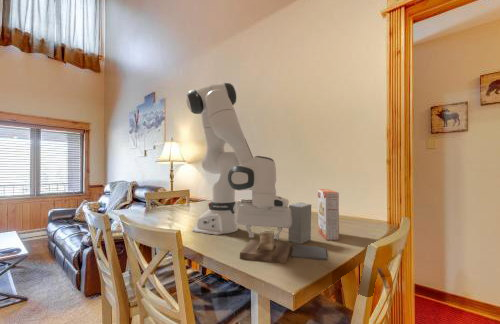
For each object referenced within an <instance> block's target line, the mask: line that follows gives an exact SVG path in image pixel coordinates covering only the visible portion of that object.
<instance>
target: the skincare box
mask: <svg viewBox="0 0 500 324" xmlns="http://www.w3.org/2000/svg"><path fill="white" fill-rule="evenodd" d="M288 207H289V208H290V210H291V215H292V226H291V227H290V228H288V237H287V238H288V242H290V243H291V242H292V243H294V244H297V245H302V244H304V243H307V242H308V241H310V240H312V239H311V237H312V204H311V203H306V202H305V203H304V202H295V203H292V204H288Z"/></svg>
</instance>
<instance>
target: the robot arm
mask: <svg viewBox="0 0 500 324" xmlns="http://www.w3.org/2000/svg"><path fill="white" fill-rule="evenodd" d="M185 99H186V106H187V108H188V109H189V110H190V112H191V113H192V114H195V115H201V122H202V126H203V127H202V128H203V129H204V130H203V131H204V134H205V135H204V136H205V140H206V152H205V154H204V156H203V157H202V161H201V167H202V168H203V170H204V171H205V172H207V173H210V174H214V175H216V174H217V175H220V176H219V178H218V181H217V182H216V183H214V184H212V185H213V186H212V201H211V202H209V203H208V204H207V207H208V209H206V211H205V212H204V213H202V214H200V216H199V217H198V219H197V222H196V225H195V226H193V227H192V229H191V231H192V232H195V233H202V234H209V235H210V234H211V235H214V236H215V235H218V236H220V235H223V234H231V233H235V232H237V231H238V230H239V229H238V225H241V226H245V229H246V231H247V233H248V238H251V239H253V238H255V232H254V231H252V230H251V228H252V226H253V227H268V228H277V231H278V232H277V233H274V241H279V240H280V234H281V232H282V231H283V229H289V228H290V227H291V226H292V215H291V210H290V208H289V205H290V204H289V201H290V200H288V198H285V197H281V196H279V195H277V188H276V182H277V168H276V167H277V166H276V162H275V160H274V159H273V158H271V157H268V156H262V155H261V156H260V155H256V156H253V154H252V151H251V149H250V146H249V144H248V141H247V139H246V137H245V135H244V133H243V130H242V128H241V125H240V121H239V119H238V116H237V113H236V110H235V108H234V105H236V102H237V91H236V89H235V86H234V85H233V84H232V83H229V82H223V83H216V84H209V85H206V86H202V87H199V88H196V89H195V88H194V89H193V88H192V89H191V90H189V91H188V92H187V93H186V98H185ZM226 144H228V146H230V147H231V148H232V150H233V151H225V145H226ZM235 191H251V199H240V200H239V201H238V202H237V203H236V201H235V198H236V197H235V196H236V194H235V193H236V192H235ZM236 210H237V212H236ZM236 213H237V214H236ZM237 224H238V225H237Z"/></svg>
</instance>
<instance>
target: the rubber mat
mask: <svg viewBox="0 0 500 324" xmlns="http://www.w3.org/2000/svg"><path fill="white" fill-rule="evenodd" d="M291 250H292V251H291V258H298V259H299V258H300V259H308V260H309V259H310V260H319V261H320V260H321V261H328V256H327V255H328V254H327V251H326V250H327V247H326V246H313V245H302V244H293V248H292V249H291Z"/></svg>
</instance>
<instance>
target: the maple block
mask: <svg viewBox="0 0 500 324" xmlns="http://www.w3.org/2000/svg"><path fill="white" fill-rule="evenodd" d="M274 235H275V230H274V231H273V230H261V232H259V240H260V250H272V251H274V241H275V240H274V238H275V237H274Z"/></svg>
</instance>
